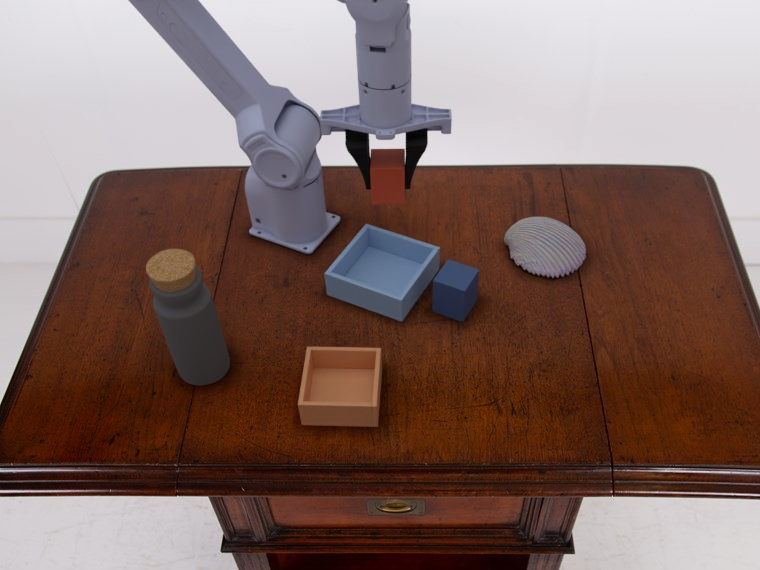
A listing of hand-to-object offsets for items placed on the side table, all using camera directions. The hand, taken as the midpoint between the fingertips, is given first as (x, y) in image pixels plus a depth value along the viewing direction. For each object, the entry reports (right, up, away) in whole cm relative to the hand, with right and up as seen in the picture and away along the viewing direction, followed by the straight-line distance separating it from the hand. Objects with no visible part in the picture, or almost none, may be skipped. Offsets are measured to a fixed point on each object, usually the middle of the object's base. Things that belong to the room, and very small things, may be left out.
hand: (388, 184), depth 91 cm
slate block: (+8, -15, -1) cm, 17 cm away
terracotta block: (0, -1, +1) cm, 1 cm away
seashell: (+20, -7, +5) cm, 22 cm away
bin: (-1, -11, +2) cm, 12 cm away
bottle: (-20, -22, -6) cm, 31 cm away
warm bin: (-5, -26, -9) cm, 28 cm away
